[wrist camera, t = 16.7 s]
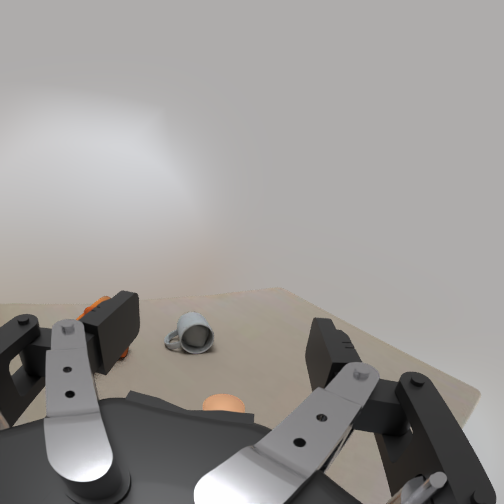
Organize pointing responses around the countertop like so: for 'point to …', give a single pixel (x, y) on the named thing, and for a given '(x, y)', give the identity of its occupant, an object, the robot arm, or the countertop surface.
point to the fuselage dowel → (224, 403)
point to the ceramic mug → (191, 334)
